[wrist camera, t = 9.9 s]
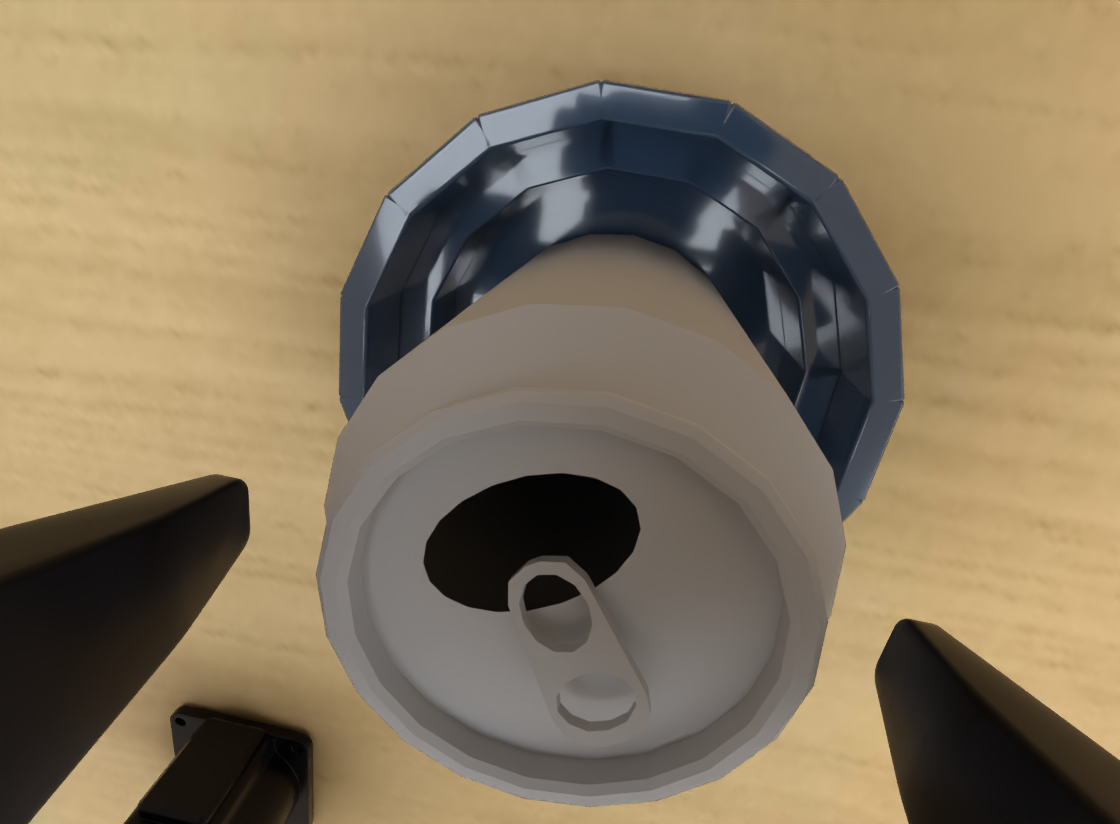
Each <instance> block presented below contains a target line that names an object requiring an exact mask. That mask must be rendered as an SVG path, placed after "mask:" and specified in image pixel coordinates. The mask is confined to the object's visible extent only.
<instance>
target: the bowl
mask: <svg viewBox="0 0 1120 824" xmlns="http://www.w3.org/2000/svg"><path fill="white" fill-rule="evenodd" d="M588 234H610V235H635V236H637V237H640V238H643V239H646V240H648V241H651V242H654V243H657V244H659V245H662V246H665V247H668V248H670V249H673V250H675V251H677V252H678V253H679V254H680V255H681V256H683V257H684V258H685V259H686V260H688V261H689V262H690V263H691V264H693V265H694V266H695V267H696V268H697V269H699V270H700V271H701V272H702V273H704V274H705V275H706V276H707V277H709V279H710V280H711V282H712V283H713V285H714V286H715V288H716V289H717V291H718V292H719V294H720V295H721V297H722V298H723V300H724V301H725V303H726V304H727V306H728V307H729V309H730V310H731V312H732V313H733V315H734V316H735V318H736V319H737V321H738V322H739V324H740V325H741V327H742V328H743V330H744V331H745V333H746V334H747V336H748V337H749V339H750V340H751V342H752V343H753V345H754V346H755V348H756V349H757V351H758V352H759V354H760V355H761V357H762V358H763V360H764V361H765V363H766V364H767V366H768V367H769V369H770V370H771V372H772V373H773V375H774V376H775V378H776V379H777V381H778V382H779V384H780V385H781V387H782V388H783V390H784V391H785V393H786V394H787V396H788V397H789V399H790V401H791V402H792V404H793V406H794V407H795V409H796V410H797V412H798V414H799V415H800V417H801V419H802V420H803V422H804V423H805V425H806V427H807V428H808V430H809V432H810V433H811V435H812V436H813V438H814V440H815V441H816V443H817V445H818V446H819V448H820V450H821V451H822V453H823V454H824V456H825V458H826V459H827V461H828V463H829V464H830V466H831V467H832V469H833V473H834V478H835V484H836V490H837V496H838V501H839V507H840V513H841V519H842V523H843V522H844V521H845V520H846V519H847V518H848V517H849V516H850V515H851V514H852V513H853V512H854V511H855V510H856V509H857V508H858V507H859V506H860V505H861V504H862V500H864V499H865V497H866V494H867V492H868V490H869V487H870V485H871V482H872V480H873V477H874V475H875V473H876V470H877V468H878V465H879V463H880V461H881V458H882V456H883V453H884V451H885V448H886V446H887V444H888V441H889V439H890V436H891V434H892V431H893V429H894V427H895V424H896V422H897V419H898V417H899V414H900V412H901V410H902V407H903V405H904V402H903V400H904V377H903V352H902V328H901V303H900V289H899V287H898V286H899V283H898V281H897V279H896V277H895V275H894V274H893V272H892V270H891V268H890V266H889V264H888V262H887V261H886V259H885V257H884V255H883V253H882V251H881V250H880V248H879V246H878V244H877V242H876V240H875V239H874V237H873V235H872V233H871V231H870V229H869V227H868V226H867V224H866V222H865V220H864V218H863V216H862V215H861V213H860V211H859V209H858V207H857V205H856V204H855V202H854V200H853V198H852V196H851V194H850V192H849V191H848V189H847V187H846V185H845V183H844V181H843V180H842V179H841V178H839V177H838V175H837V174H836V173H835V172H833V171H832V170H831V169H829V168H828V167H826V166H825V165H823V164H822V163H821V162H819V161H818V160H816V159H815V158H814V157H812V156H811V155H809V154H808V153H806V152H805V151H804V150H802V149H801V148H799V147H798V146H796V145H795V144H794V143H792V142H791V141H789V140H788V139H787V138H785V137H784V136H782V135H781V134H779V133H778V132H777V131H775V130H774V129H772V128H771V127H769V126H768V125H767V124H765V123H764V122H762V121H761V120H760V119H758V118H757V117H755V116H754V115H752V114H751V113H750V112H748V111H747V110H745V109H744V108H742V107H741V106H740V105H738V104H737V103H733V104H732V102H731V101H729V100H724V99H718V98H712V97H706V96H700V95H694V94H688V93H682V92H676V91H669V90H663V89H657V88H651V87H645V86H639V85H633V84H627V83H621V82H614V81H608V80H603V81H602V82H601V81H599V80H596V81H593V82H589V83H586V84H583V85H579V86H576V87H572V88H569V89H565V90H562V91H558V92H555V93H551V94H548V95H544V96H541V97H537V98H534V99H530V100H527V101H523V102H520V103H517V104H513V105H510V106H506V107H503V108H499V109H496V110H492V111H489V112H485V113H482V114H479V115H478V117H475V118H473V119H472V120H471V121H469V122H468V123H467V124H466V125H465V126H464V127H463V128H461V129H460V130H459V131H458V132H457V133H456V134H454V135H453V136H452V137H451V138H450V139H449V140H448V141H446V142H445V143H444V144H443V145H442V146H441V147H440V148H438V149H437V150H436V151H435V152H434V153H433V154H432V155H430V156H429V157H428V158H427V159H426V160H425V161H424V162H422V163H421V164H420V165H419V166H418V167H417V168H415V169H414V170H413V171H412V172H411V173H410V174H409V175H407V176H406V177H405V178H404V179H403V180H402V181H401V182H399V183H398V184H397V185H396V186H395V187H394V188H393V189H391V190H390V191H389V193H388V195H386V196H385V197H384V199H383V201H382V203H381V206H380V208H379V210H378V212H377V214H376V217H375V219H374V221H373V223H372V225H371V228H370V230H369V232H368V234H367V236H366V239H365V241H364V243H363V245H362V247H361V250H360V252H359V254H358V256H357V259H356V261H355V263H354V265H353V267H352V270H351V272H350V274H349V276H348V278H347V281H346V283H345V285H344V287H343V289H342V292H341V295H342V296H341V303H340V366H339V395H340V396H341V397H340V402H341V404H342V407H343V410H344V412H345V415H346V417H347V420H348V422H349V420H350V419H351V417H352V416H353V414H354V412H355V411H356V409H357V408H358V406H359V405H360V403H361V402H362V400H363V399H364V397H365V395H366V394H367V392H368V391H369V389H370V388H371V386H372V385H373V383H374V382H375V380H376V379H377V377H378V376H379V375H380V374H382V373H383V372H384V371H386V370H387V369H388V368H390V367H391V366H392V365H393V364H395V363H396V362H397V361H399V360H400V359H401V358H403V357H404V356H405V355H407V354H408V353H409V352H410V351H412V350H413V349H414V348H416V347H417V346H418V345H420V344H421V343H422V342H423V341H425V340H426V339H427V338H429V337H430V336H431V335H433V334H434V333H435V332H437V331H438V330H439V329H440V328H442V327H443V326H444V325H446V324H447V323H448V322H450V321H451V320H452V319H453V318H455V317H456V316H457V315H459V314H460V313H461V312H463V311H464V310H465V309H467V308H468V307H469V306H470V305H472V304H473V303H474V302H476V301H477V300H478V299H480V298H481V297H482V296H483V295H485V294H486V293H487V292H489V291H490V290H491V289H493V288H494V287H495V286H496V285H498V284H499V283H500V282H502V281H503V280H504V279H506V278H507V277H508V276H510V275H511V274H512V273H513V272H515V271H516V270H517V269H519V268H520V267H522V266H523V265H524V264H526V263H527V262H528V261H530V260H531V259H533V258H534V257H535V256H537V255H538V254H539V253H541V252H542V251H544V250H545V249H546V248H548V247H550V246H553V245H556V244H559V243H563V242H566V241H569V240H572V239H575V238H579V237H582V236H585V235H588Z"/></svg>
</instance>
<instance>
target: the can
mask: <svg viewBox="0 0 1120 824" xmlns="http://www.w3.org/2000/svg"><path fill="white" fill-rule="evenodd" d="M324 508H325V514H326V521H327V523H326V528H325V532H324V537H323V542H322V547H321V552H320V557H319V561H318V566H317V571H316V578H317V584H318V589H319V595H320V601H321V607H322V613H323V619H324V625H325V630H326V636H327V638H328V639H329V641H330V643H331V645H332V647H333V649H334V651H335V652H336V654H337V656H338V658H339V660H340V662H341V664H342V665H343V667H344V669H345V671H346V673H347V675H348V677H349V678H350V680H351V682H352V684H353V686H354V688H355V689H356V691H357V693H358V694H359V695H360V696H361V697H362V698H363V699H364V700H365V701H366V702H367V703H368V704H369V705H370V706H371V708H372V709H373V710H374V711H375V712H376V713H377V714H378V715H379V716H380V717H381V718H382V719H383V720H384V721H385V722H386V723H387V724H388V725H389V726H390V727H391V728H392V729H393V730H394V731H395V732H396V733H397V734H398V735H399V736H400V737H401V738H402V739H403V740H404V741H405V742H406V743H408V744H410V745H411V746H413V747H414V748H416V749H418V750H419V751H421V752H422V753H424V754H426V755H427V756H429V757H430V758H432V759H434V760H435V761H437V762H438V763H440V764H442V765H443V766H445V767H446V768H448V769H450V770H451V771H453V772H454V773H456V774H458V775H459V776H461V777H464V778H467V779H470V780H473V781H476V782H478V783H481V784H484V785H487V786H490V787H492V788H495V789H498V790H501V791H504V792H506V793H509V794H512V795H515V796H518V797H520V798H524V799H532V800H539V801H547V802H555V803H562V804H570V805H578V806H585V807H596V806H607V805H618V804H629V803H640V802H651V801H658V800H661V799H664V798H667V797H670V796H672V795H675V794H678V793H681V792H684V791H687V790H690V789H693V788H695V787H698V786H701V785H704V784H707V783H710V782H713V781H715V780H718V779H720V778H722V777H724V776H725V775H727V774H728V773H729V772H731V771H732V770H734V769H735V768H736V767H738V766H739V765H741V764H742V763H743V762H745V761H746V760H748V759H749V758H750V757H752V756H753V755H755V754H756V753H757V752H759V751H760V750H762V749H763V748H764V747H766V746H767V745H769V744H770V743H771V742H773V741H774V740H776V739H777V737H778V736H779V734H780V733H781V732H782V730H783V729H784V727H785V726H786V725H787V723H788V722H789V720H790V719H791V717H792V716H793V715H794V713H795V712H796V710H797V709H798V707H799V706H800V705H801V703H802V702H803V700H804V699H805V697H806V696H807V695H808V693H809V692H810V690H811V689H812V687H813V686H814V682H815V677H816V673H817V668H818V664H819V659H820V655H821V650H822V646H823V641H824V637H825V632H826V628H827V623H828V619H829V617H830V616H831V611H832V607H833V603H834V598H835V594H836V589H837V585H838V580H839V576H840V571H841V567H842V562H843V558H844V553H845V549H846V542H845V536H844V530H843V525H842V519H841V513H840V507H839V501H838V496H837V490H836V484H835V478H834V473H833V469H832V467H831V466H830V464H829V463H828V461H827V459H826V458H825V456H824V454H823V453H822V451H821V450H820V448H819V446H818V445H817V443H816V441H815V440H814V438H813V436H812V435H811V433H810V432H809V430H808V428H807V427H806V425H805V423H804V422H803V420H802V419H801V417H800V415H799V414H798V412H797V410H796V409H795V407H794V406H793V404H792V402H791V401H790V399H789V397H788V396H787V394H786V393H785V391H784V390H783V388H782V387H781V385H780V384H779V382H778V381H777V379H776V378H775V376H774V375H773V373H772V372H771V370H770V369H769V367H768V366H767V364H766V363H765V361H764V360H763V358H762V357H761V355H760V354H759V352H758V351H757V349H756V348H755V346H754V345H753V343H752V342H751V340H750V339H749V337H748V336H747V334H746V333H745V331H744V330H743V328H742V327H741V325H740V324H739V322H738V321H737V319H736V318H735V316H734V315H733V313H732V312H731V310H730V309H729V307H728V306H727V304H726V303H725V301H724V300H723V298H722V297H721V295H720V294H719V292H718V291H717V289H716V288H715V286H714V285H713V283H712V282H711V280H710V279H709V277H707V276H706V275H705V274H704V273H702V272H701V271H700V270H699V269H697V268H696V267H695V266H694V265H693V264H691V263H690V262H689V261H688V260H686V259H685V258H684V257H683V256H681V255H680V254H679V253H678V252H677V251H675V250H673V249H670V248H668V247H665V246H662V245H659V244H657V243H654V242H651V241H648V240H646V239H643V238H640V237H637V236H635V235H610V234H588V235H585V236H582V237H579V238H575V239H572V240H569V241H566V242H563V243H559V244H556V245H553V246H550V247H548V248H546V249H545V250H544V251H542V252H541V253H539V254H538V255H537V256H535V257H534V258H533V259H531V260H530V261H528V262H527V263H526V264H524V265H523V266H522V267H520V268H519V269H517V270H516V271H515V272H513V273H512V274H511V275H510V276H508V277H507V278H506V279H504V280H503V281H502V282H500V283H499V284H498V285H496V286H495V287H494V288H493V289H491V290H490V291H489V292H487V293H486V294H485V295H483V296H482V297H481V298H480V299H478V300H477V301H476V302H474V303H473V304H472V305H470V306H469V307H468V308H467V309H465V310H464V311H463V312H461V313H460V314H459V315H457V316H456V317H455V318H453V319H452V320H451V321H450V322H448V323H447V324H446V325H444V326H443V327H442V328H440V329H439V330H438V331H437V332H435V333H434V334H433V335H431V336H430V337H429V338H427V339H426V340H425V341H423V342H422V343H421V344H420V345H418V346H417V347H416V348H414V349H413V350H412V351H410V352H409V353H408V354H407V355H405V356H404V357H403V358H401V359H400V360H399V361H397V362H396V363H395V364H393V365H392V366H391V367H390V368H388V369H387V370H386V371H384V372H383V373H382V374H380V375H379V376H378V377H377V379H376V380H375V382H374V383H373V385H372V386H371V388H370V389H369V391H368V392H367V394H366V395H365V397H364V399H363V400H362V402H361V403H360V405H359V406H358V408H357V409H356V411H355V412H354V414H353V416H352V417H351V419H350V420H349V422H348V423H347V425H346V426H345V428H344V429H343V431H342V432H341V434H340V436H339V437H338V439H337V444H336V449H335V454H334V459H333V464H332V469H331V474H330V479H329V484H328V489H327V494H326V499H325V504H324Z"/></svg>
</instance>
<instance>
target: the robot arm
mask: <svg viewBox="0 0 1120 824" xmlns="http://www.w3.org/2000/svg"><path fill="white" fill-rule="evenodd" d="M249 534H250V514H249V494H248V487H247V485H246V483H245V482H244V481H243V480H241V479H237V478H233V477H228V476H223V475H218V474H213V475H209V476H205V477H201V478H197V479H193V480H189V481H185V482H181V483H177V484H174V485H170V486H166V487H162V488H158V489H154V490H150V491H146V492H142V493H138V494H134V495H131V496H127V497H123V498H119V499H115V500H111V501H107V502H103V503H99V504H95V505H91V506H88V507H84V508H80V509H76V510H72V511H68V512H64V513H60V514H56V515H52V516H49V517H45V518H41V519H37V520H33V521H29V522H25V523H21V524H17V525H13V526H9V527H6V528H2V529H0V824H28V823H29V822H30V821H31V820H32V818H33V817H34V816H35V815H36V814H37V812H38V811H39V810H40V809H41V808H42V806H43V805H44V804H45V803H46V802H47V800H48V799H49V798H50V797H51V796H52V794H53V793H54V792H55V791H56V790H57V788H58V787H59V786H60V785H61V784H62V782H63V781H64V780H65V779H66V778H67V776H68V775H69V774H70V773H71V772H72V770H73V769H74V768H75V767H76V766H77V764H78V763H79V762H80V761H81V760H82V758H83V757H84V756H85V755H86V754H87V752H88V751H89V750H90V749H91V748H92V746H93V745H94V744H95V743H96V742H97V741H98V739H99V738H100V737H101V736H102V735H103V733H104V732H105V731H106V730H107V729H108V727H109V726H110V725H111V724H112V723H113V721H114V720H115V719H116V718H117V717H118V715H119V714H120V713H121V712H122V711H123V709H124V708H125V707H126V706H127V705H128V703H129V702H130V701H131V700H132V699H133V697H134V696H135V695H136V694H137V693H138V691H139V690H140V689H141V688H142V687H143V685H144V684H145V683H146V682H147V681H148V679H149V678H150V677H151V676H152V675H153V673H154V672H155V671H156V670H157V669H158V667H159V666H160V665H161V664H162V663H163V661H164V660H165V659H166V658H167V657H168V655H169V654H170V653H171V652H172V650H173V649H174V648H175V647H176V645H177V644H178V643H179V642H180V640H181V639H182V638H183V636H184V635H185V634H186V632H187V631H188V629H189V628H190V627H191V625H192V624H193V623H194V621H195V620H196V618H197V617H198V615H199V614H200V612H201V611H202V609H203V608H204V606H205V605H206V603H207V602H208V601H209V599H210V598H211V596H212V595H213V593H214V592H215V590H216V589H217V587H218V586H219V584H220V583H221V581H222V580H223V578H224V577H225V576H226V574H227V573H228V571H229V570H230V568H231V567H232V565H233V564H234V562H235V561H236V559H237V558H238V556H239V555H240V553H241V552H242V551H243V549H244V547H245V546H246V544H247V541H248V538H249ZM875 684H876V689H877V693H878V698H879V702H880V707H881V711H882V716H883V721H884V725H885V730H886V734H887V739H888V743H889V748H890V752H891V757H892V761H893V766H894V770H895V775H896V779H897V784H898V787H899V791H900V795H901V799H902V803H903V806H904V810H905V813H906V816H907V819H908V823H909V824H1120V760H1119V759H1117V758H1116V757H1115V756H1113V755H1112V754H1111V753H1109V752H1108V751H1106V750H1105V749H1104V748H1102V747H1101V746H1100V745H1098V744H1097V743H1096V742H1094V741H1093V740H1092V739H1090V738H1089V737H1088V736H1086V735H1085V734H1083V733H1082V732H1081V731H1079V730H1078V729H1077V728H1075V727H1074V726H1073V725H1071V724H1070V723H1069V722H1067V721H1066V720H1065V719H1063V718H1062V717H1061V716H1059V715H1058V714H1056V713H1055V712H1054V711H1052V710H1051V709H1050V708H1048V707H1047V706H1046V705H1044V704H1043V703H1042V702H1040V701H1039V700H1038V699H1036V698H1035V697H1033V696H1032V695H1031V694H1029V693H1028V692H1027V691H1025V690H1024V689H1023V688H1021V687H1020V686H1019V685H1017V684H1016V683H1015V682H1013V681H1012V680H1011V679H1009V678H1008V677H1006V676H1005V675H1004V674H1002V673H1001V672H1000V671H998V670H997V669H996V668H994V667H993V666H992V665H990V664H989V663H988V662H986V661H985V660H984V659H982V658H981V657H979V656H978V655H977V654H975V653H974V652H973V651H971V650H970V649H969V648H967V647H966V646H965V645H963V644H962V643H961V642H959V641H958V640H956V639H955V638H954V637H952V636H951V635H950V634H948V633H947V632H946V631H944V630H943V629H942V628H940V627H939V626H937V625H934V624H931V623H926V622H922V621H917V620H912V619H903V620H900V621H899V622H898V623H897V624H896V625H895V627H894V629H893V631H892V633H891V635H890V637H889V639H888V641H887V643H886V646H885V648H884V650H883V652H882V654H881V656H880V658H879V660H878V662H877V665H876V669H875ZM170 722H171V729H172V737H173V744H174V752H175V758H174V759H173V760H172V762H171V763H170V764H169V765H168V767H167V768H166V769H165V770H164V772H163V773H162V774H161V775H160V777H159V778H158V779H157V780H156V782H155V783H154V784H153V785H152V787H151V788H150V789H149V790H148V792H147V793H146V794H145V795H144V797H143V798H142V799H141V800H140V802H139V804H138V806H137V807H136V809H135V810H134V811H133V812H132V814H131V815H130V816H129V817H128V819H127V820H126V821H125V822H124V824H313V744H312V740H311V739H310V738H309V737H308V736H307V735H305V734H302V733H298V732H294V731H289V730H285V729H281V728H276V727H272V726H268V725H264V724H259V723H255V722H251V721H246V720H242V719H238V718H233V717H229V716H225V715H220V714H216V713H212V712H208V711H203V710H199V709H195V708H190V707H186V706H181V707H179V708H178V709H177V710H176V711H175V712H174V713H173V714H172V715H171V717H170Z"/></svg>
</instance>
